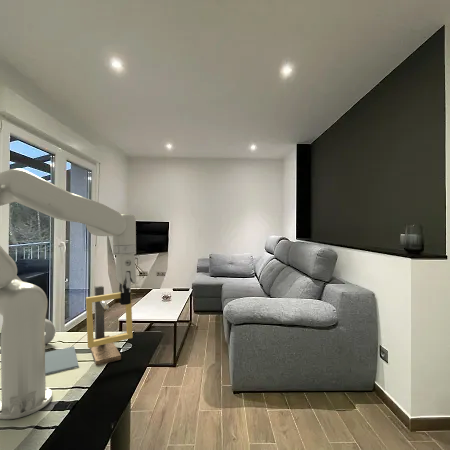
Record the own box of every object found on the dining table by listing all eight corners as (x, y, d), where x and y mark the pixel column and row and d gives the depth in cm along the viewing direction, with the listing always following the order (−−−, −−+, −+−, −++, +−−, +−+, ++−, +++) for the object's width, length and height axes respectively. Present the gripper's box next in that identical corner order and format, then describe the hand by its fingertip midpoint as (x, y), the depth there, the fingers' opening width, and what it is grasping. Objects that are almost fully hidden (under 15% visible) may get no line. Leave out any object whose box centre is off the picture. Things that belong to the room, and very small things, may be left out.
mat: (78, 367, 97) (78, 365, 97) (35, 377, 91) (35, 375, 91) (74, 348, 112) (74, 346, 112) (36, 355, 106) (36, 354, 106)
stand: (120, 359, 102) (119, 294, 102) (95, 365, 98) (94, 297, 98) (109, 339, 121) (108, 284, 121) (87, 343, 117) (87, 286, 117)
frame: (132, 337, 102) (130, 291, 102) (88, 348, 95) (86, 298, 94) (131, 336, 103) (129, 290, 103) (87, 346, 96) (85, 297, 96)
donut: (57, 343, 117) (57, 318, 117) (50, 347, 114) (50, 321, 114) (37, 341, 120) (36, 316, 120) (29, 344, 116) (29, 319, 116)
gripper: (141, 251, 97) (142, 307, 97) (130, 248, 110) (130, 297, 110) (117, 252, 93) (118, 310, 93) (108, 249, 106) (109, 300, 106)
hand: (124, 303), depth 101 cm, fingers closed on frame, 1 cm apart
